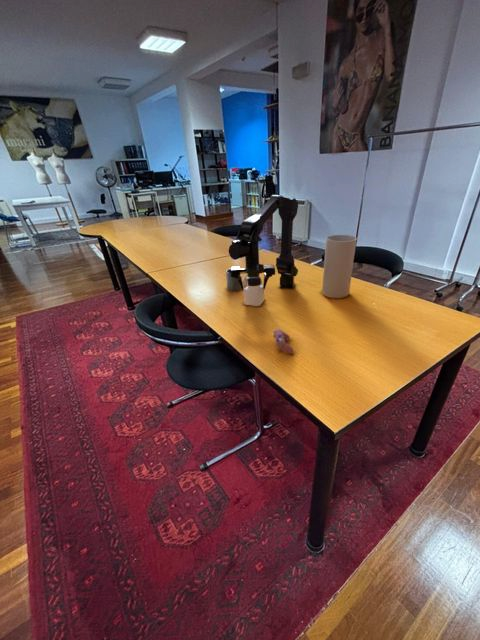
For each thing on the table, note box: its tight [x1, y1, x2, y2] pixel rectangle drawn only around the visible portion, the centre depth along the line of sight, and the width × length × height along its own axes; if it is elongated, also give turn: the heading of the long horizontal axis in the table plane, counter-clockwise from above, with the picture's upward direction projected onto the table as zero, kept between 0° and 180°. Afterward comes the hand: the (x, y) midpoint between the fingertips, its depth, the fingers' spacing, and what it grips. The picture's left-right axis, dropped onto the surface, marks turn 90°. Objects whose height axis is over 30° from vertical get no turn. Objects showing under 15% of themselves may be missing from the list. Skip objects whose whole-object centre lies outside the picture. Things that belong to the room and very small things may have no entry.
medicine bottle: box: [243, 277, 265, 307], centre depth 129 cm, size 7×7×12 cm
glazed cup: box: [225, 268, 242, 292], centre depth 145 cm, size 7×7×9 cm
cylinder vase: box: [321, 234, 358, 299], centre depth 132 cm, size 12×12×25 cm
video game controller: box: [272, 329, 294, 355], centre depth 99 cm, size 10×5×7 cm, turn 5°
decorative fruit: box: [242, 275, 263, 289], centre depth 140 cm, size 9×8×10 cm
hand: (253, 290), depth 129 cm, fingers open, 9 cm apart
